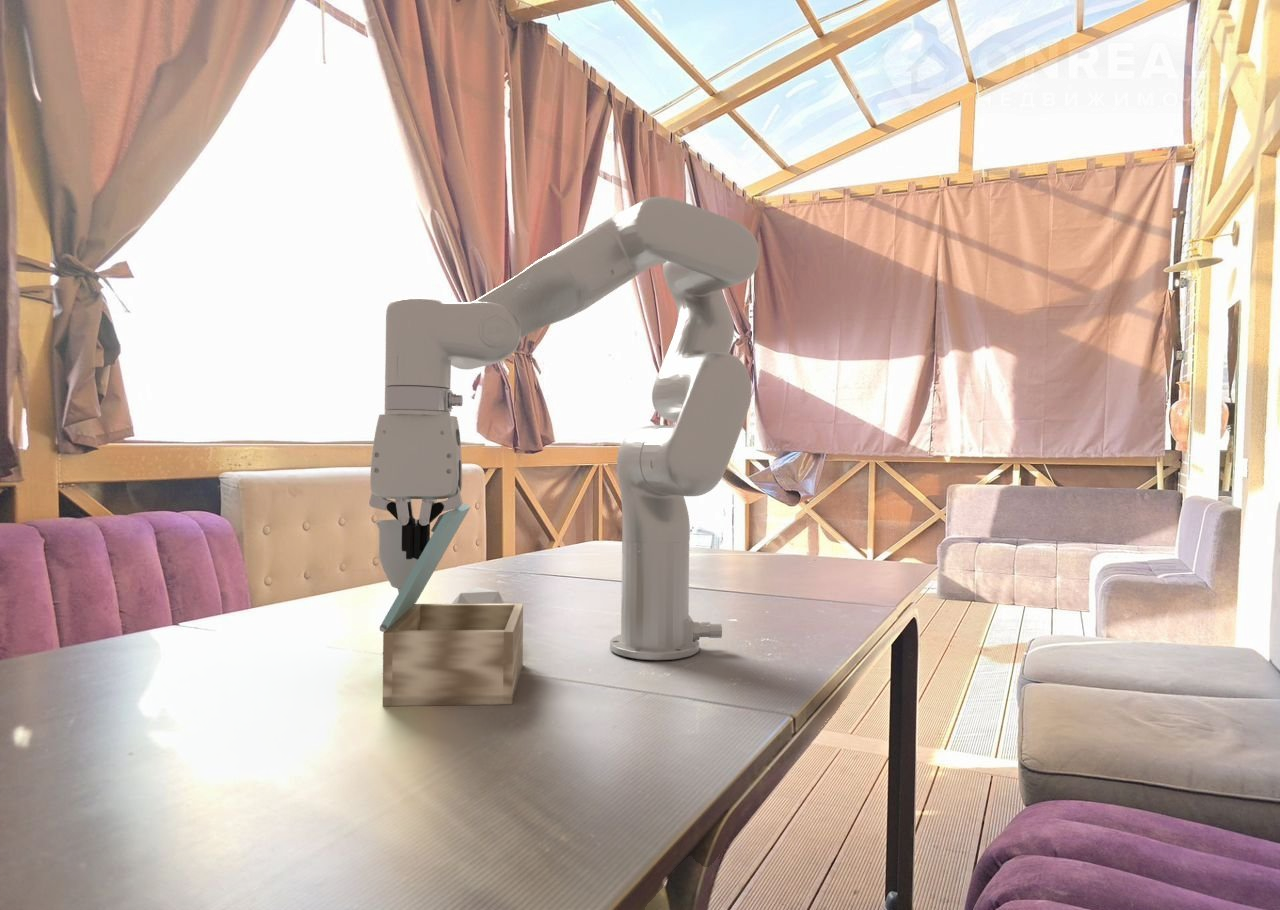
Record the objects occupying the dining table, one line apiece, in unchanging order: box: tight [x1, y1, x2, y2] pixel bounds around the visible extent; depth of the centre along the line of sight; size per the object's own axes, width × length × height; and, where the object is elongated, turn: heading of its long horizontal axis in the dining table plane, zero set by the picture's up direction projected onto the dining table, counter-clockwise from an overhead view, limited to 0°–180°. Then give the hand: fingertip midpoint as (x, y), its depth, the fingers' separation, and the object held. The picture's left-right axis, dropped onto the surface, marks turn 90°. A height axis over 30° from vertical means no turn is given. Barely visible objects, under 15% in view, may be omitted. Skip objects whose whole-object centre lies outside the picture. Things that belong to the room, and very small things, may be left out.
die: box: [451, 586, 505, 604], centre depth 112 cm, size 8×9×10 cm
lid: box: [379, 503, 471, 633], centre depth 94 cm, size 14×16×2 cm
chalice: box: [375, 518, 419, 593], centre depth 108 cm, size 7×7×18 cm
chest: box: [382, 602, 524, 707], centre depth 94 cm, size 14×16×8 cm
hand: (415, 557), depth 94 cm, fingers closed
